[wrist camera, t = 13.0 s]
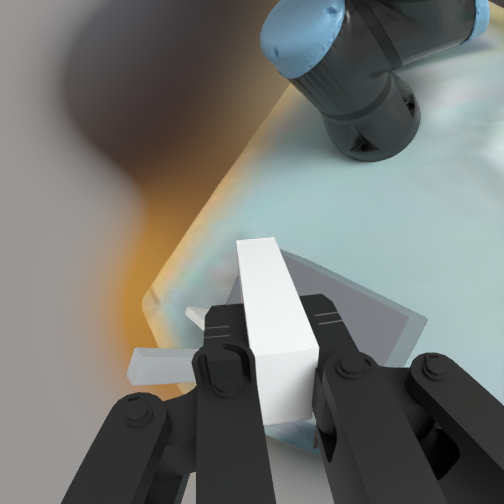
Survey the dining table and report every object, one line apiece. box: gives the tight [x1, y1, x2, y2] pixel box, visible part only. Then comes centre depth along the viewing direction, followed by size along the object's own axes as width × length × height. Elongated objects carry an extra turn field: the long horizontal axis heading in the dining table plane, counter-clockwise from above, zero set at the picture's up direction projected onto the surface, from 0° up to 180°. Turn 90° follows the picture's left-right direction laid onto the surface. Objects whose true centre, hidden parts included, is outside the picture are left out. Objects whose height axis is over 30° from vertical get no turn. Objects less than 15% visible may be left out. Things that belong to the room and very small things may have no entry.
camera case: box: [226, 249, 428, 368], centre depth 37 cm, size 20×12×12 cm, turn 60°
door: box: [126, 307, 209, 385], centre depth 40 cm, size 10×5×22 cm, turn 60°
